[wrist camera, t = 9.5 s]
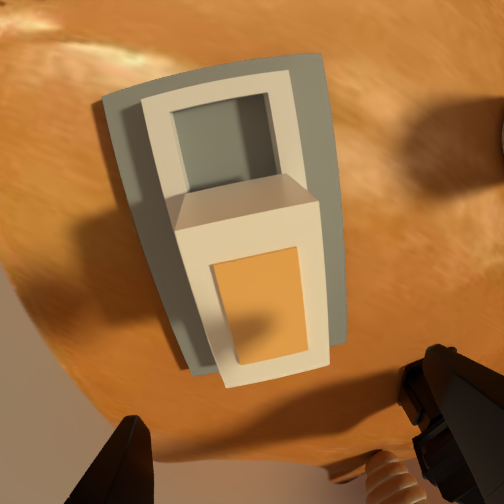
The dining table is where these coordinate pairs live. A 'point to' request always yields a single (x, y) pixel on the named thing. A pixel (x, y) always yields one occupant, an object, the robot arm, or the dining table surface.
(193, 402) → the dining table surface
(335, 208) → the rail panel
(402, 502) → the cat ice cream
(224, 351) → the block
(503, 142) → the can
